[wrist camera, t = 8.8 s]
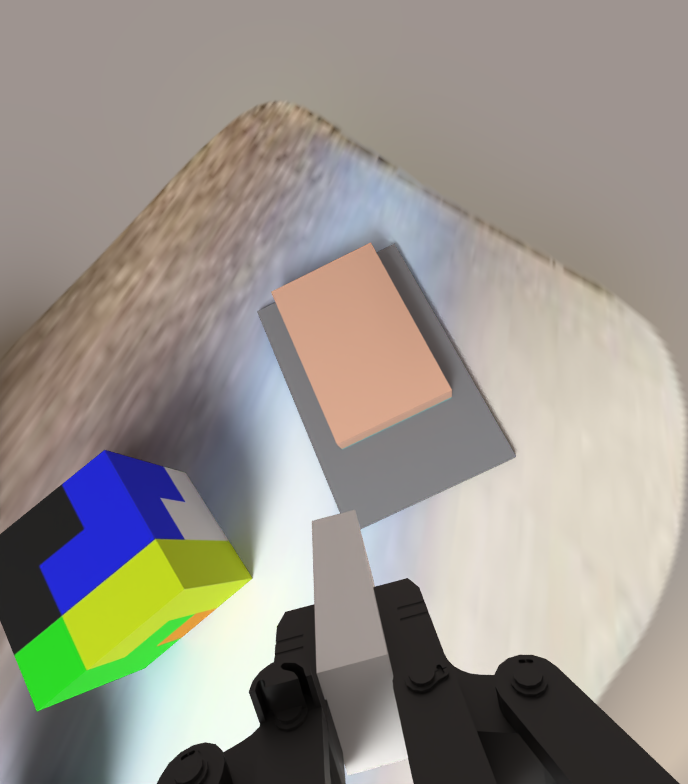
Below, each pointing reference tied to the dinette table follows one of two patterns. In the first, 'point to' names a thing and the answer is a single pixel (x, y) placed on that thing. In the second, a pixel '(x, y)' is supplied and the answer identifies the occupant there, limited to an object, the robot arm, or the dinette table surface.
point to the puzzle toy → (110, 575)
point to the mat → (406, 439)
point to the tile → (360, 347)
